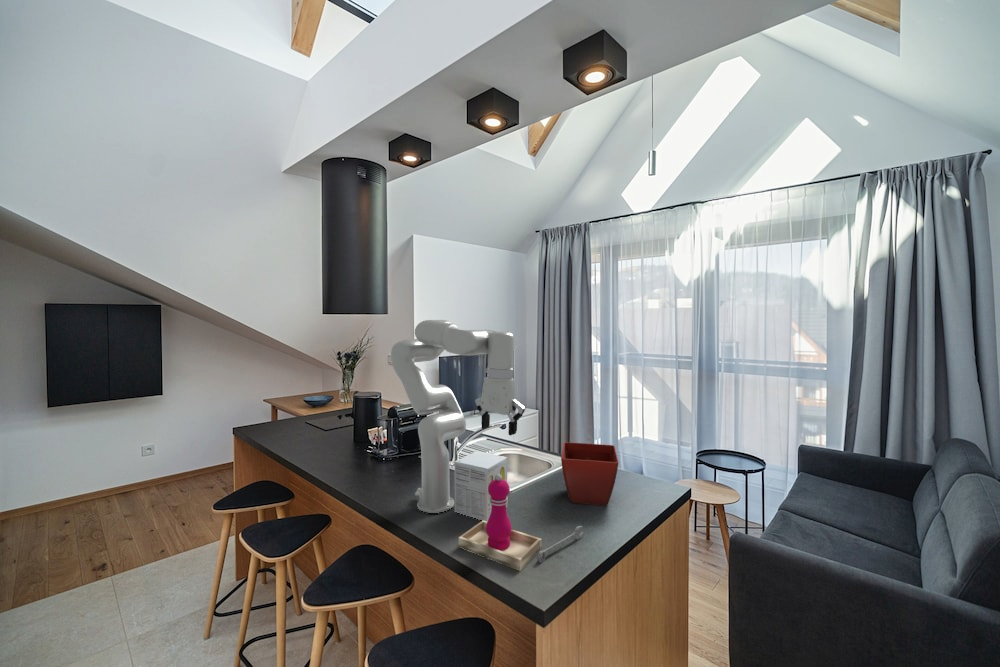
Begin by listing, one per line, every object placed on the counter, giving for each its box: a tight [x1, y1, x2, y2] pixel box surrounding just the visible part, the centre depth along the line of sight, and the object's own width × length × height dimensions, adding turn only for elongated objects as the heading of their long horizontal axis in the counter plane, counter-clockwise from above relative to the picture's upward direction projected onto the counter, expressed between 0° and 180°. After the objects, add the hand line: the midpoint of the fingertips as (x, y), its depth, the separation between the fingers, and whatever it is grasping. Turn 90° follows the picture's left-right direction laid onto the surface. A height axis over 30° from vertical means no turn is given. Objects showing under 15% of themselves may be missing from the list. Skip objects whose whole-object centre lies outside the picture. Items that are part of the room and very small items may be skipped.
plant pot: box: [560, 441, 619, 507], centre depth 149 cm, size 19×19×17 cm
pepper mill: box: [486, 474, 513, 551], centre depth 116 cm, size 7×7×20 cm
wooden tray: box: [458, 520, 543, 572], centre depth 116 cm, size 20×12×3 cm, turn 57°
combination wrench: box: [536, 525, 584, 563], centre depth 116 cm, size 4×1×20 cm
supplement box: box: [454, 450, 508, 522], centre depth 140 cm, size 13×13×18 cm
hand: (498, 431), depth 123 cm, fingers open, 9 cm apart
